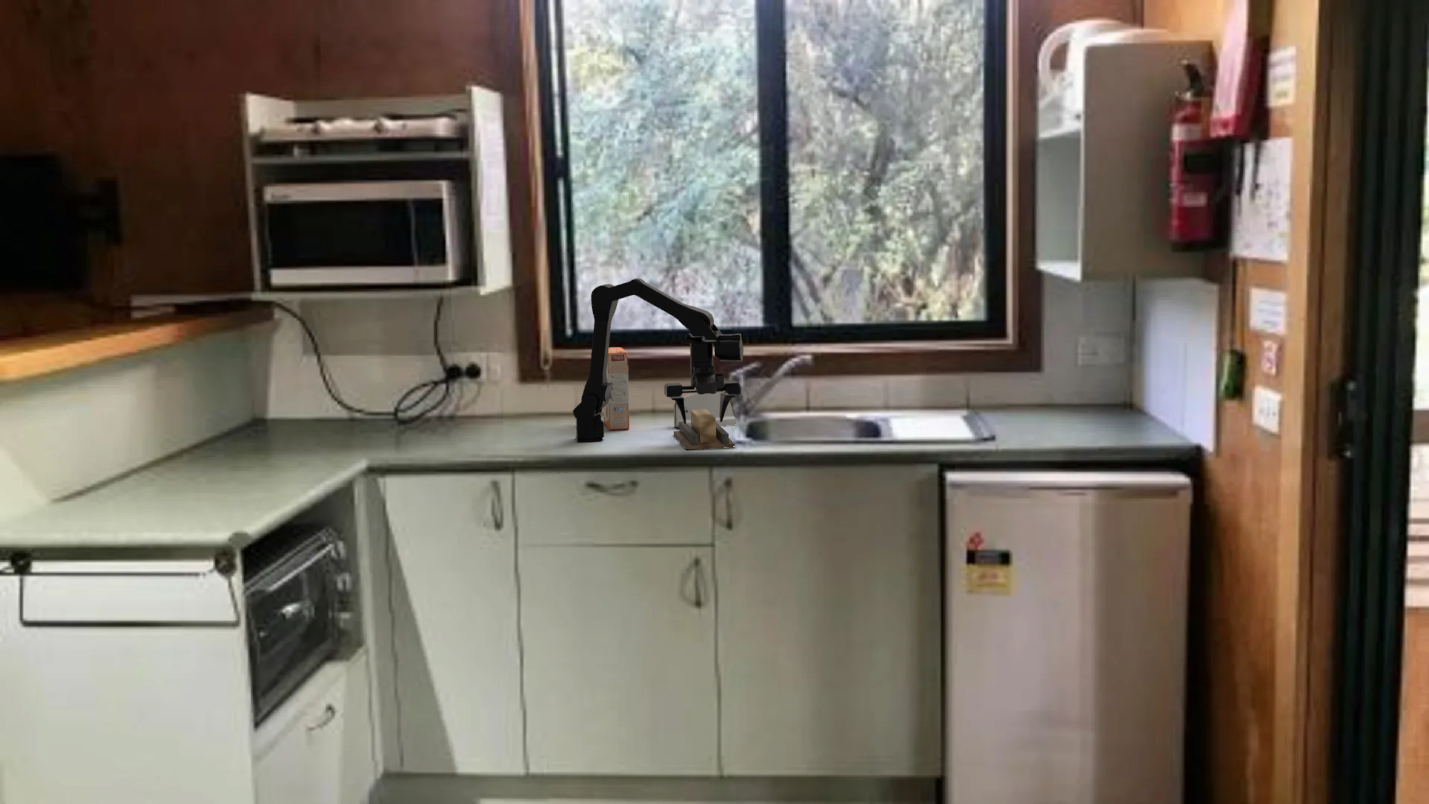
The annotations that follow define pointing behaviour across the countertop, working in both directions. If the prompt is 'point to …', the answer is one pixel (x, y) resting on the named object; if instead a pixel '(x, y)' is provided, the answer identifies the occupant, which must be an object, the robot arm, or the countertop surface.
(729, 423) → the grey upright panel
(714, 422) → the wooden block
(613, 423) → the cracker box
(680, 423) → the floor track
